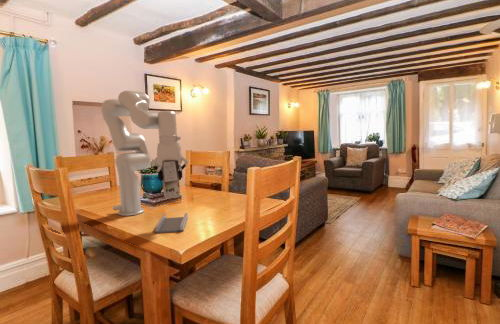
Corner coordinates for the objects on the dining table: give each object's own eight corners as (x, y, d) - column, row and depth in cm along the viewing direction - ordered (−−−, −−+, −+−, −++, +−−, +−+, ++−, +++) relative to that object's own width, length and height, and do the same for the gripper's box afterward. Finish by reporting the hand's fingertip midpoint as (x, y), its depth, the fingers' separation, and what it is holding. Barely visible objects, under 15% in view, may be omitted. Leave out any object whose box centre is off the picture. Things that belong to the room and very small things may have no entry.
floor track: (155, 233, 115) (155, 227, 115) (163, 219, 133) (163, 214, 132) (183, 231, 116) (183, 225, 116) (187, 218, 134) (187, 213, 134)
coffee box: (180, 197, 120) (178, 160, 118) (165, 199, 117) (162, 161, 116) (177, 193, 128) (175, 158, 127) (163, 195, 126) (160, 159, 124)
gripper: (189, 139, 125) (191, 177, 127) (149, 140, 123) (152, 179, 125) (187, 139, 118) (189, 180, 119) (145, 140, 116) (148, 182, 117)
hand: (170, 179), depth 122 cm, fingers closed on coffee box, 7 cm apart
